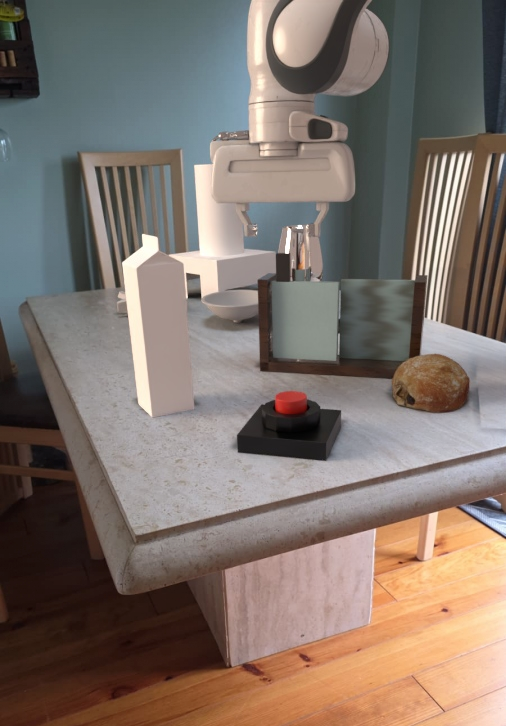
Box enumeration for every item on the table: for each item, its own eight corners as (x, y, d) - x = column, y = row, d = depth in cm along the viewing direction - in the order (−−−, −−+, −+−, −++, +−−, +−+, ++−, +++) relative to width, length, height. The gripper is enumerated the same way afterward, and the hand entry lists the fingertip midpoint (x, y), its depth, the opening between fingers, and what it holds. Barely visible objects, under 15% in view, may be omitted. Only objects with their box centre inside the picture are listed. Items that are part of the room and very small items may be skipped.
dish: (205, 313, 137) (203, 290, 135) (270, 311, 137) (270, 288, 135) (200, 333, 121) (198, 307, 119) (274, 330, 121) (273, 304, 119)
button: (309, 406, 72) (309, 391, 71) (303, 417, 69) (303, 402, 68) (279, 404, 73) (279, 389, 72) (271, 414, 70) (271, 400, 69)
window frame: (419, 368, 96) (427, 275, 90) (417, 380, 91) (425, 282, 85) (269, 360, 102) (268, 273, 97) (259, 371, 97) (257, 279, 91)
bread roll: (383, 421, 86) (370, 376, 81) (424, 375, 90) (414, 330, 85) (446, 440, 79) (436, 393, 74) (487, 390, 83) (481, 342, 78)
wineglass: (268, 347, 109) (265, 227, 101) (297, 338, 114) (297, 223, 106) (302, 355, 104) (302, 229, 96) (331, 345, 109) (333, 225, 101)
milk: (179, 397, 87) (165, 231, 78) (195, 410, 82) (182, 235, 74) (137, 404, 85) (118, 235, 76) (151, 418, 80) (133, 238, 71)
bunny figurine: (118, 302, 130) (112, 283, 143) (120, 326, 133) (115, 305, 145) (162, 299, 133) (153, 280, 145) (164, 322, 135) (155, 301, 148)
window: (337, 359, 95) (340, 253, 89) (336, 361, 94) (339, 254, 88) (274, 356, 98) (272, 252, 91) (272, 357, 97) (270, 253, 91)
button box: (340, 426, 75) (341, 395, 74) (325, 461, 67) (326, 427, 65) (261, 420, 78) (261, 390, 77) (237, 453, 70) (235, 419, 68)
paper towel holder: (219, 304, 146) (211, 163, 133) (172, 295, 158) (161, 166, 146) (276, 292, 157) (274, 162, 144) (228, 285, 170) (222, 164, 157)
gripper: (201, 131, 84) (207, 238, 90) (352, 124, 78) (348, 239, 84) (216, 133, 89) (221, 234, 95) (359, 126, 84) (355, 234, 90)
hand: (282, 236), depth 90 cm, fingers open, 8 cm apart
